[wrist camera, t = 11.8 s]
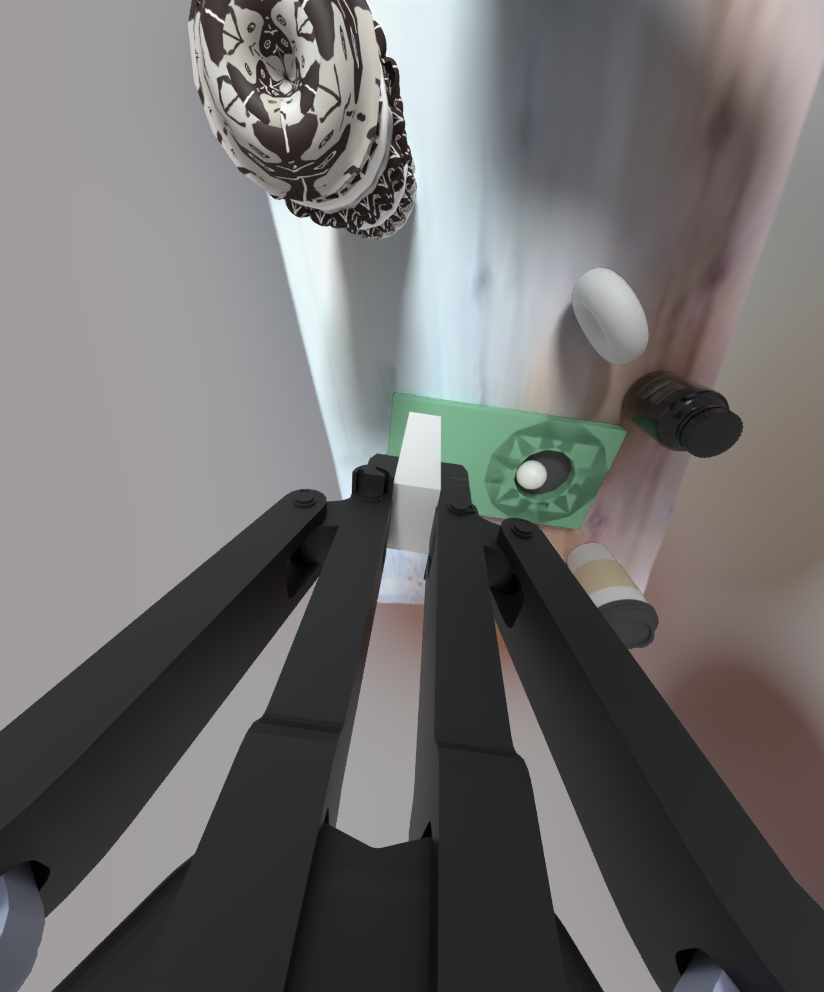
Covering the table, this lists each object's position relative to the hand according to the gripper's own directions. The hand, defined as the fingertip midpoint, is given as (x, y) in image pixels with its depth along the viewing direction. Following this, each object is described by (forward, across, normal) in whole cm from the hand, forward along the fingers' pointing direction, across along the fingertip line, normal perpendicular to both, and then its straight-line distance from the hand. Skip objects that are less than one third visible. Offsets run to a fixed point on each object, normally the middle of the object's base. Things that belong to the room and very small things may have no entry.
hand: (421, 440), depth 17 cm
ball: (+27, +16, -15) cm, 35 cm away
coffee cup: (+30, +31, -30) cm, 52 cm away
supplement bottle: (+30, +28, -3) cm, 41 cm away
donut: (+30, +17, +5) cm, 35 cm away
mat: (+29, +11, -15) cm, 35 cm away
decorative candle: (+30, -8, +13) cm, 33 cm away
